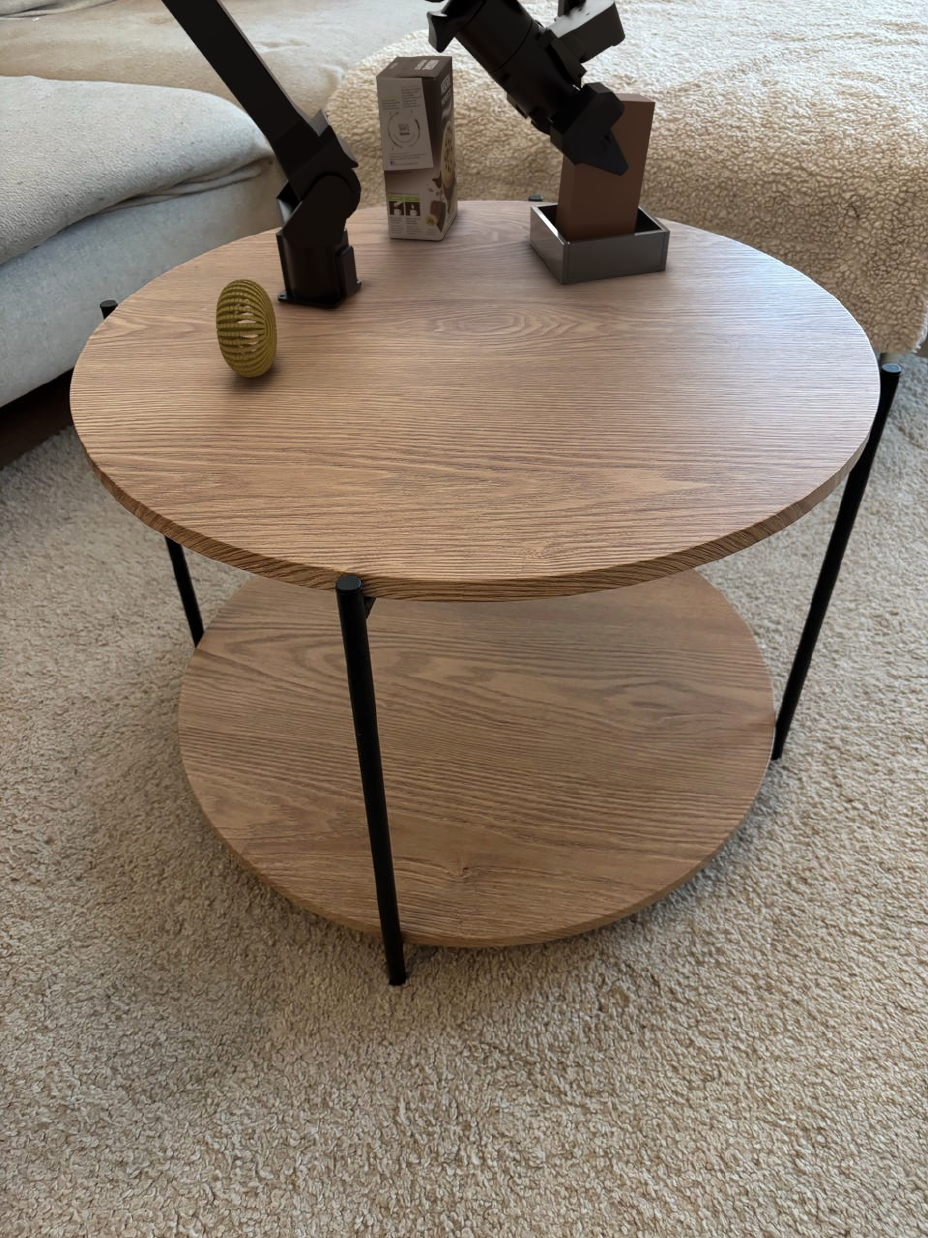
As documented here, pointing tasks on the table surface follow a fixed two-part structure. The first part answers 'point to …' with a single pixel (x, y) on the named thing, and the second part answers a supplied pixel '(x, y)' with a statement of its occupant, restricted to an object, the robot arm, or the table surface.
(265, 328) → the sculpture
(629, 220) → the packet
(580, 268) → the open box
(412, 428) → the table surface
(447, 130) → the coffee box
